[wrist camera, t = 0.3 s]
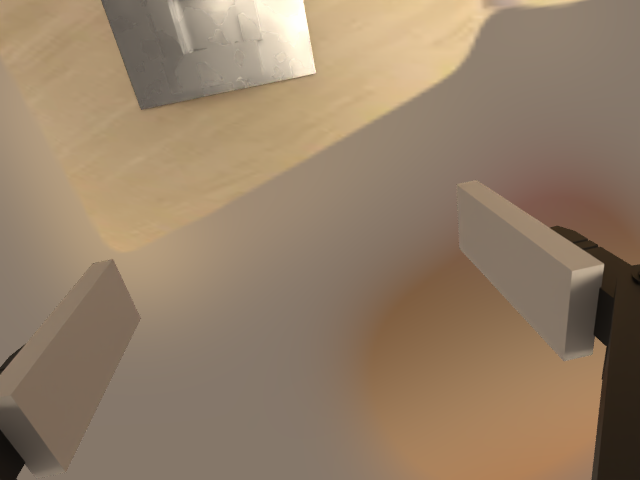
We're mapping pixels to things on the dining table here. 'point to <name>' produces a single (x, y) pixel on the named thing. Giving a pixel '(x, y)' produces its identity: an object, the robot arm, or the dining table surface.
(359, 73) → the dining table surface
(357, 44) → the dining table surface
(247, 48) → the bracket
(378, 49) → the dining table surface
